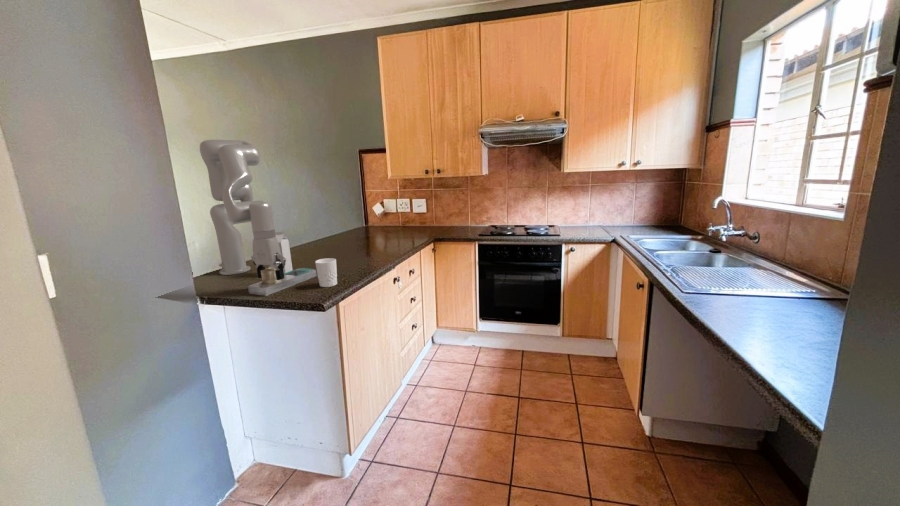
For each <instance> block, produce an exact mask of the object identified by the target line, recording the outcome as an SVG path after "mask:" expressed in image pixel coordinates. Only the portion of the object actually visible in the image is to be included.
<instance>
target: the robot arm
mask: <svg viewBox="0 0 900 506" xmlns="http://www.w3.org/2000/svg"><path fill="white" fill-rule="evenodd" d="M199 153H200V156H201V158H202V161H203V162H204V165H205V166H206V169H207V174H208V180H209V181H208V182H209V187H210V188H209V189H210V192H211V197H212V198H213V200H215V201H218V202H222V203H219V204H215V205H213V206H212V207H211V208H210V210H209V214H210V218H211V221H212V224H213V226H214V230H215V234H216V239H217V245H218V250H219V255H220V260H221V262H220V263H219V264H218V266H219V267H221V269H220V270H219V274H220V275H222V276H228V275H229V276H230V275H231V276H232V275H238V274H243V273H246V272H249V271H250V270H251V266H250V265H247V261H246V257H245V250H244V249H245V248H244V244H243V239H242V233H241V231H240V230H238V228H236V227H235V226H234V225H237V224H245V223H251V229H252V236H253V239H252V255H251V257H250V258H251V261H252V263H253V265H254V267H255V268H256V271H257V279H262V276H261V270H264V269H266V267H265V266H268V267H269V266H272V265H273V266H274V267H275V268H276V270H275V273H276V279H277V280H281V279H284V272H283V269H284V266H285V263H286V258H284V257H283V256H281V252H280V248H279V244H278V241H277V238H276V234H275V232H276V228H275V222H274V216H273V215H274V214H273V208H272V204H271V203H270V202H268V201H263V200H254V197H253V189H252V185H251V183H252V181H253V175H252V173H251V170H250V168H249V167H252V166H253V167H254V166H258V165H259V164H260V162H261V156H260V152H259V151H258V148H256V146H254V145H253V144H251V143H250V142H247V141H245V140H237V139H234V140H233V139H206V140H205V139H204V140H203V141H201V142H200V144H199ZM235 201H237V202H235ZM277 264H278V265H279V266H277Z"/></svg>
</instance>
